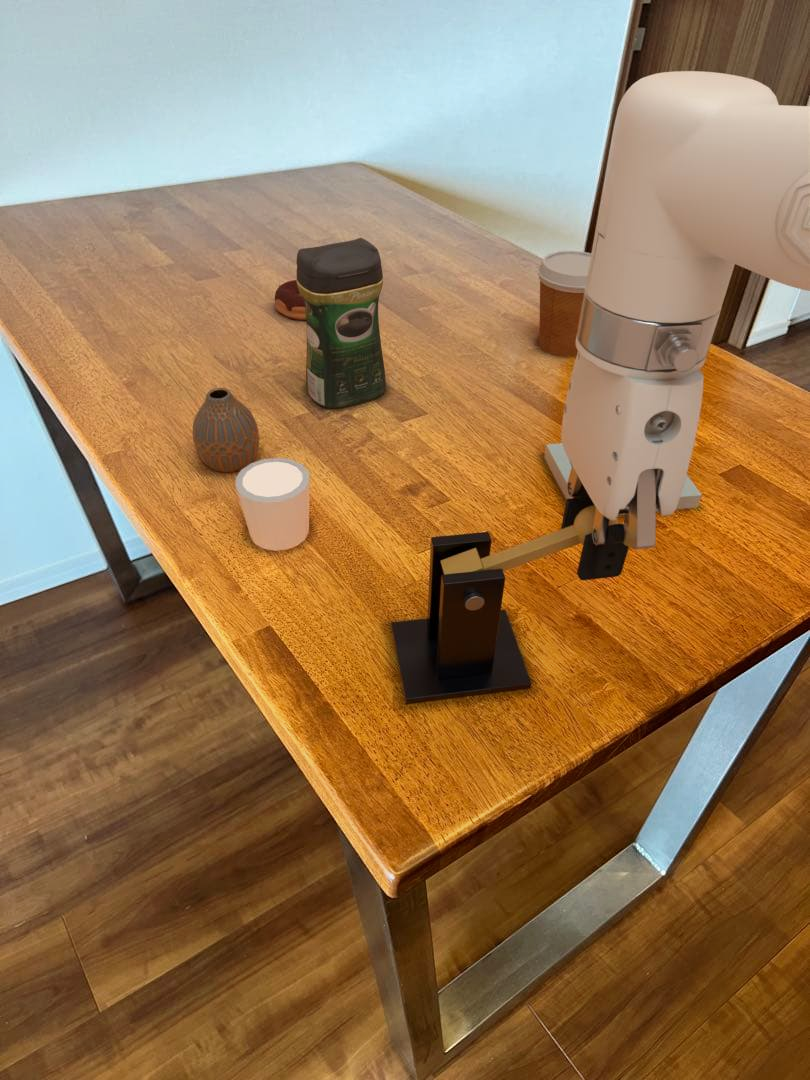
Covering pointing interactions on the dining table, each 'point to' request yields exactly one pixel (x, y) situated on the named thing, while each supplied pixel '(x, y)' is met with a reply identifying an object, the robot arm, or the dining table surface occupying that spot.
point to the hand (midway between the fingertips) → (589, 555)
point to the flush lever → (525, 548)
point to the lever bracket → (459, 632)
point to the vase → (225, 432)
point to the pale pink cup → (275, 502)
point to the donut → (290, 301)
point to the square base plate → (562, 467)
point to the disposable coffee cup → (561, 300)
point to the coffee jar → (342, 322)
